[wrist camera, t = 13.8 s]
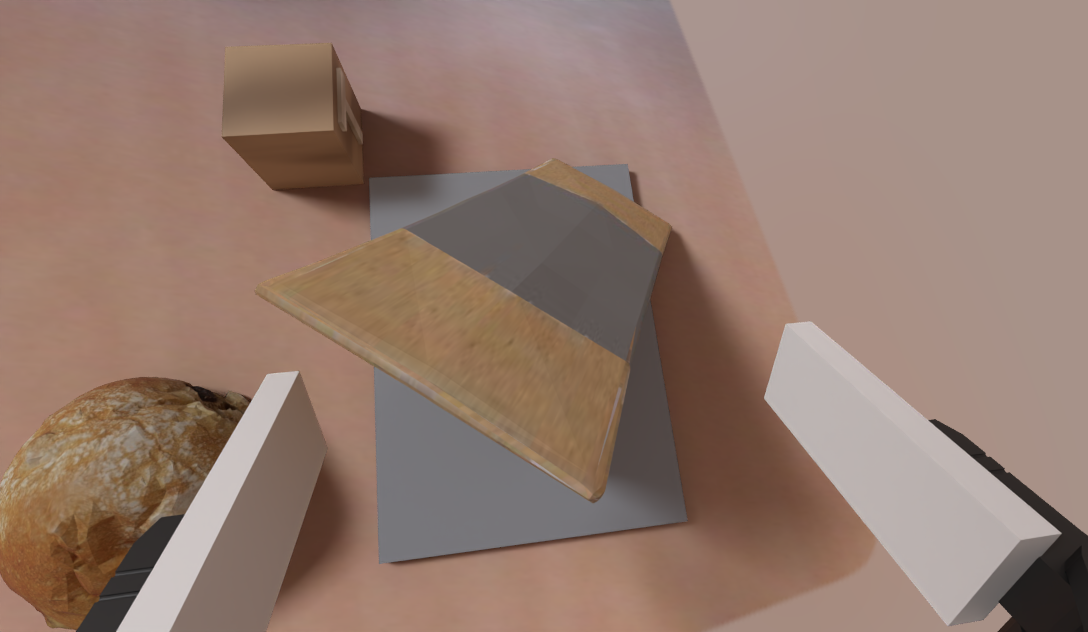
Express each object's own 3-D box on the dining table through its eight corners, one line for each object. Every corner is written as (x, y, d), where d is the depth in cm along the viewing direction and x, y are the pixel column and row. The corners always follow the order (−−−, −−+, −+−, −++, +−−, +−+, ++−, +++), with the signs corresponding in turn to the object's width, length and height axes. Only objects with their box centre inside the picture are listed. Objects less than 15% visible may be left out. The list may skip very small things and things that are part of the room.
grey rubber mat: (372, 183, 27) (369, 177, 26) (624, 169, 29) (627, 164, 28) (382, 560, 22) (379, 563, 22) (683, 519, 24) (687, 521, 23)
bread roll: (328, 450, 27) (299, 378, 21) (209, 668, 20) (113, 659, 14) (161, 402, 27) (82, 315, 21) (-14, 606, 20) (-207, 568, 14)
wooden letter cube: (274, 114, 28) (225, 46, 23) (364, 109, 28) (335, 42, 23) (273, 190, 27) (221, 136, 22) (367, 183, 27) (337, 130, 22)
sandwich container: (677, 227, 27) (874, -6, 13) (543, 464, 24) (606, 515, 9) (551, 154, 28) (602, -150, 13) (399, 375, 24) (240, 287, 9)
